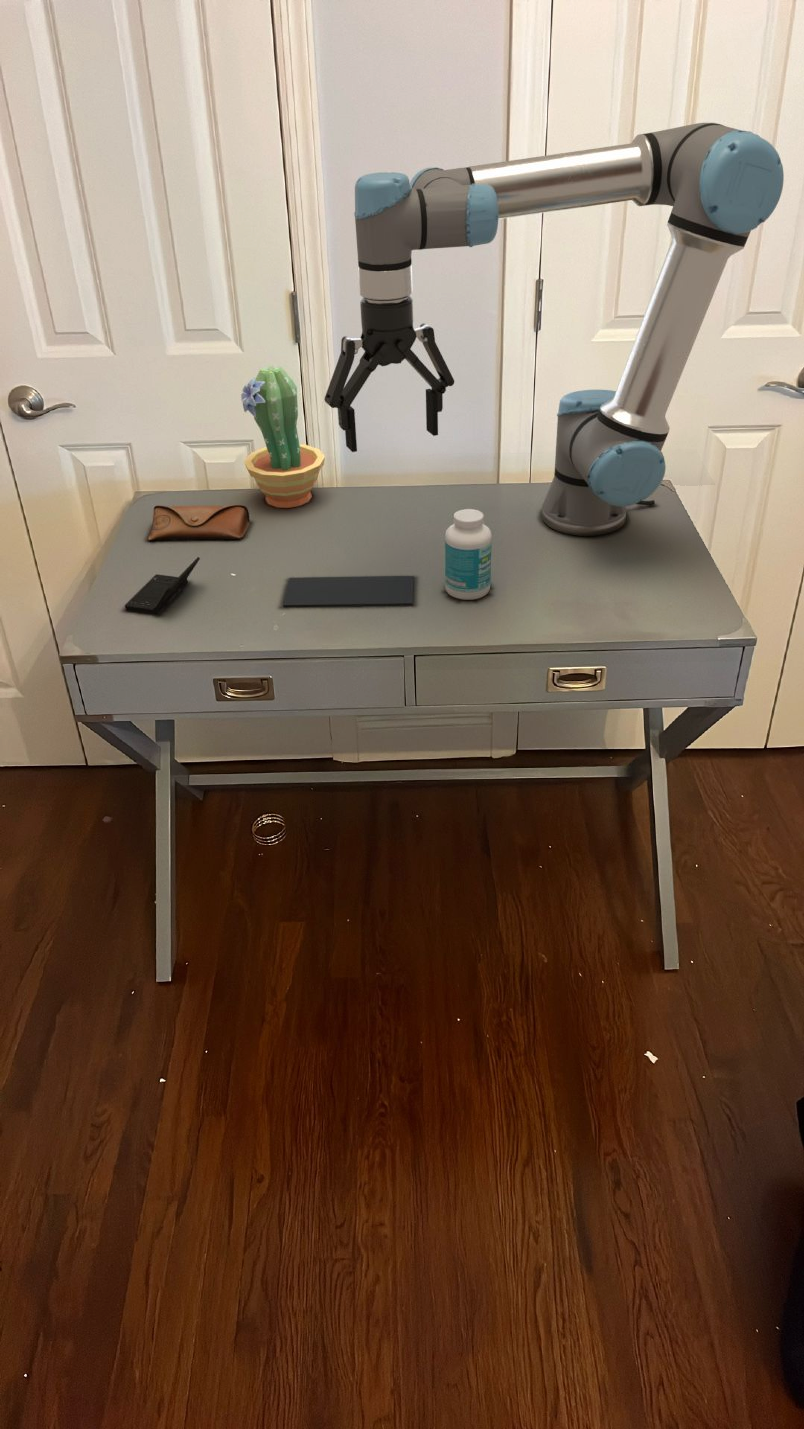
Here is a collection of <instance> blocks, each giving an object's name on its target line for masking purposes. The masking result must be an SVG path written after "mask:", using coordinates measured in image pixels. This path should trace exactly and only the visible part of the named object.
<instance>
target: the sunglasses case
mask: <svg viewBox="0 0 804 1429" xmlns="http://www.w3.org/2000/svg"><path fill="white" fill-rule="evenodd" d="M250 524H251V521H250V512H249V509H248V507H247V506H246V505H242V504H232V505H231V504H230V505H182V506H181V505H179V506H170V505H169V506H167V505H155V506H154V507H153V514H152V523H151V531H150V534H149V536H148V538H147V540H148V541H160V540H197V541H201V540H203V541H215V540H216V541H218V540H234V539H235V540H237V539H242V538H244V537H245V535H246V533H247V531H248V529H249V527H250Z"/></svg>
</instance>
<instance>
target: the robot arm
mask: <svg viewBox="0 0 804 1429" xmlns="http://www.w3.org/2000/svg"><path fill="white" fill-rule="evenodd" d="M784 174H785V173H784V166H783V163H782V160H781V157H780V155H779V152H778V150H777V149H776V148H775V147H774V145H773V144H772V143H770V142H769V141H768V140H767V139H765V138H763V137H761V136H760V135H758V134H756V133H754V132H752V131H750V130H749V131H747V130H743V129H738V128H734V127H731V126H726V125H724V124H720V123H716V122H699V123H692V124H688V125H687V124H686V125H682V126H677V127H673V128H668V129H663V130H657V131H652V132H647V133H639V134H637V135H636V136H635V137H634V138H633V139H632V141H631V142H630V143H625V144H617V145H611V146H603V147H596V148H590V149H583V150H582V149H581V150H575V151H569V152H562V153H555V154H547V155H539V156H536V157H535V156H534V157H526V158H519V159H513V160H506V161H498V162H493V163H492V162H491V163H485V164H477V165H471V166H467V167H456V168H450V169H443V168H440V167H425V168H423V169H421V170H420V171H418V172H416V174H414V176H413V177H412V178H411V180H410V179H409V176H408V175H407V174H405V173H402V172H396V171H395V172H393V171H392V172H386V171H382V172H373V173H367V174H364V175H361V176H360V177H358V179H357V180H356V182H355V183H354V184H355V185H354V213H353V214H354V215H353V216H354V224H355V236H356V250H357V251H356V252H357V264H358V265H357V266H358V267H357V269H358V285H359V286H358V287H359V295H360V297H361V298H362V299H361V300H360V302H359V303H360V304H359V305H360V323H361V334H360V337H353V338H352V337H351V338H350V337H349V336H347V335H345V336H342V338H341V340H340V341H341V344H340V347H341V348H340V354H339V357H338V359H337V361H336V362H337V363H336V365H335V368H334V370H333V374H332V376H331V379H330V381H329V385H328V387H327V390H326V393H325V395H324V402H325V403H326V405H328V406H329V407H331V408H332V409H337V417H338V420H337V421H338V426H339V428H340V429H341V430H342V431H344V433H345V434H344V435H345V447H347V449H349V451H350V452H352V453H356V452H358V443H357V429H356V415H355V414H356V412H355V409H354V408H353V407H352V406H351V405H352V403H353V402H354V401H355V399H356V397H357V396H358V394H359V393H360V391H361V390H362V388H363V386H364V385H365V384H366V382H367V380H368V379H369V377H370V376H371V374H372V373H373V372H375V371H376V369H377V368H378V366H381V367H386V366H389V365H391V364H393V365H394V364H395V365H398V364H402V362H403V361H405V360H406V362H407V363H408V364H409V365H411V367H412V368H413V369H414V370H415V371H416V372H417V373H418V374H419V376H420V377H422V379H423V380H424V381H425V383H426V384H427V385H429V386H430V387H431V388H426V389H425V418H426V419H425V420H426V422H425V424H426V425H425V428H426V431H427V432H428V433H429V434H430V435H432V436H433V437H436V436H439V413H440V412H442V411H443V409H444V407H443V406H444V402H443V398H444V396H443V394H445V393H446V392H447V388H448V387H453V386H454V384H455V379H454V377H453V375H452V372H451V370H450V369H449V366H448V365H447V362H446V360H445V358H444V357H443V354H442V352H441V351H440V348H439V346H438V345H437V343H436V338H435V336H436V335H435V330H434V328H433V327H432V326H430V325H428V324H427V323H424V322H423V323H421V324H420V326H419V327H417V328H414V299H413V298H412V296H411V295H412V294H413V267H412V266H413V264H412V263H413V262H412V261H413V260H412V252H413V251H416V250H418V251H421V250H433V249H444V248H445V249H446V248H447V249H449V248H464V247H469V248H473V247H474V246H480V245H487V244H491V243H492V242H494V240H495V239H496V236H497V233H498V229H499V220H501V219H511V218H517V217H518V218H519V217H523V216H524V217H525V216H530V215H539V214H544V213H546V214H547V213H550V212H551V213H552V212H558V211H566V210H572V209H573V210H574V209H580V208H586V207H595V206H600V205H608V204H615V203H620V202H622V203H623V202H628V201H629V202H630V201H632V202H633V204H635V205H636V206H638V207H645V206H653V205H659V206H660V205H661V206H663V205H664V206H670V207H672V208H671V212H670V214H669V217H668V220H667V222H666V226H667V228H668V230H669V231H668V232H669V233H670V236H671V241H670V243H669V244H670V245H669V247H668V250H667V253H666V255H665V257H664V261H663V264H662V266H661V269H660V271H659V274H658V276H657V279H656V283H655V284H654V288H653V291H652V293H651V296H650V298H649V302H648V304H647V307H646V308H645V312H644V315H643V318H642V321H641V322H640V326H639V328H638V331H637V334H636V337H635V340H634V342H633V345H632V348H631V350H630V353H629V356H628V358H627V360H626V364H625V367H624V369H623V371H622V374H621V378H620V380H619V382H618V385H617V389H616V390H610V389H583V390H575V391H572V392H569V393H566V394H564V395H563V396H562V397H561V399H560V400H559V404H558V411H557V413H556V417H557V424H556V441H555V456H554V457H555V459H554V474H553V478H552V481H551V483H550V486H549V488H548V490H547V493H546V494H545V495H546V496H545V498H544V501H543V503H542V506H541V520H542V521H543V523H544V524H546V525H547V527H549V528H551V529H553V530H555V531H557V532H560V533H563V534H566V535H567V534H568V535H572V536H581V537H583V536H584V537H590V536H591V537H592V536H601V535H605V534H606V535H607V534H610V533H612V532H615V531H617V530H619V529H621V528H622V527H623V525H624V524H625V523H626V518H627V507H629V506H633V505H640V506H653V505H655V503H656V502H655V500H654V499H652V500H646V499H648V498H649V497H651V496H652V495H653V494H654V493H655V492H656V491H657V490H658V489H659V487H660V485H661V484H662V482H663V481H664V478H665V473H666V466H667V465H666V461H665V456H664V454H663V452H662V450H663V448H664V446H665V442H666V441H667V438H668V435H669V432H670V425H669V423H668V421H667V419H666V414H667V411H668V409H669V407H670V404H671V401H672V399H673V396H674V394H675V392H676V390H677V387H678V384H679V382H680V379H681V376H682V374H683V372H684V369H685V367H686V364H687V362H688V359H689V357H690V354H691V352H692V349H693V347H694V344H695V342H696V340H697V337H698V334H699V332H700V329H701V327H702V324H703V322H704V319H705V318H706V315H707V312H708V310H709V307H710V305H711V303H712V299H713V297H714V295H715V292H716V289H717V287H718V285H719V282H720V280H721V277H722V275H723V272H724V269H725V267H726V265H727V262H728V260H729V259H730V257H731V256H733V255H735V254H736V253H738V252H740V251H742V250H743V249H745V246H746V244H747V241H748V239H749V237H750V234H751V233H752V231H754V230H755V229H757V228H758V227H759V226H760V225H761V224H762V223H766V221H767V220H768V219H769V218H770V217H771V215H772V214H773V213H774V211H775V209H776V208H777V205H778V204H779V201H780V199H781V196H782V193H783V189H784V181H785V180H784V177H785V175H784ZM416 340H418V341H419V342H420V343H421V344H422V346H423V348H424V349H425V351H426V353H427V356H428V358H429V360H430V361H431V363H432V365H433V367H434V369H435V371H436V373H437V375H438V378H437V377H436V376H435V375H434V374H433V373H432V371H430V369H428V367H427V366H426V365H425V364H424V363H423V361H421V359H420V358H419V357H418V356H417V354H415V352H414V351H413V350H412V347H413V345H414V343H415V341H416ZM360 348H361V349H363V351H364V352H363V354H362V355H361V356H360V359H359V363H358V365H357V366H356V368H355V370H354V371H353V372H352V374H351V376H350V377H349V375H350V372H351V369H352V366H353V365H354V364H353V363H354V361H355V356H356V355H357V354H358V353H359V349H360ZM348 377H349V379H348ZM347 380H348V381H347Z"/></svg>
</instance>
